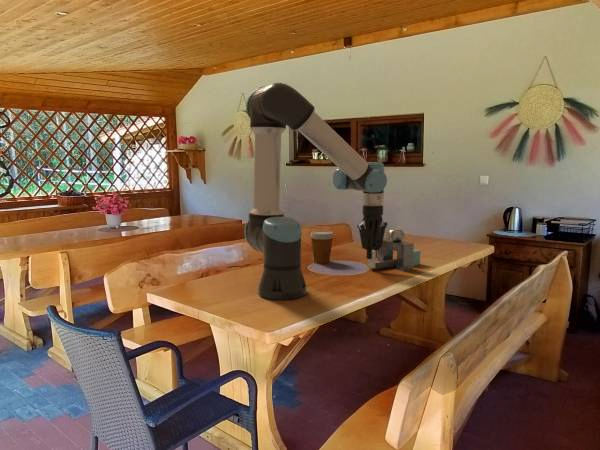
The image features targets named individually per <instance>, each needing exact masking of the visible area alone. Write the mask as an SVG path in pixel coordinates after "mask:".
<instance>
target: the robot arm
mask: <svg viewBox="0 0 600 450" xmlns="http://www.w3.org/2000/svg"><path fill="white" fill-rule="evenodd" d="M245 104H246V105H245V108H246V109H245V111H246V114H247V117H248V118H249V124H250V125H249V126H250V128H249V129H250V130H251V131H252V132H253V133H254V161H253V163H254V164H253V172H254V173H253V174H254V175H253V207H252V208H251V209H250V210H249V212H248V221H247V223H245V225H244V231H243V232H244V239H245V240H246V242H247V244H248V245H249V246H250V247H251V248H252V249H253V250H255V251H256V252H260V253H261V254H263V271H262V275H261V277H260V280H259V283H258V296H259V297H262V298H264V299H269V300H277V301H288V300H296V299H300V298H302V297H305V296H306V295H307V293H308V292H307V284H306V280H305V278H304V274H303V271H302V235H303V232H302V227H301V223H300V221H298V220H297V219H294V218H292V217H286V216H285V212H284V211H283V210H282V209H281V208H280V204H281V203H280V200H281V199H280V197H281V194H280V190H281V160H282V157H281V153H282V135H283V133H284V132H285V131H286V129H287V127H289V128H290V129H291V130H292V131H293V132H297V131H298V132H299V133H300V134H301V135H302V136H303V137H305V138H306V140H308V141H309V142H310V143H311V144H312V145H313V146H314V147H316V148H317V149H318V150H319V151H320V152H321V153H322V154H323V155H324V156H325V157H327V159H329V160H330V161H331V162H332V163H334V165H335V166H337V167H338V168H336V169H335V170H334V171H333V174H332V184H333V186H334V188H335V189H337V190H343V191H345V190H352V191H360V192H362V204H363V205H362V216H363V218H362V222H361V223H358V224H357V225H356V226H357V229H358V231H359V235H360V236H359V237H360V243H361V248H362V249H364V250H366V259H367V268H370V269H371V268H375V263H376V262H377V251H378V250H379V249H378V248H381V247H382V242H383V238H385V237H384V236H385V232H386V229H387V226H388V222H385V221H384V220H383V215H384V206H383V204H384V192H385V191H384V190H385V189H386V187H387V183H388V178H387V175H386V173H385V165H384V163H383V162H379V161H378V162H377V161H376V162H375V161H373V162H371V161H368V162H367V160H365V159H364V158H363V157H362V156H361V155H360V154H359V153H358V152H357V151H356V150H355V149H354V148H353V147H352V146H351V145H349V143H348V142H347V141H346V140H344V139H343V137H342V136H340V135H339V134H338V133H337V132H336V131H335V130H334V129H333V128H332V127H331V126H330V125H329V124H328V123H327V122H326V121H325V120H324V119H323V118H322V117H321V116H319V114H318V113H317V112H316V109H315V108H316V107H315V106H314V105H313V104H312V103H311V102H310V101H309V100H308V99H307V98H306V97H305V96H303V95H302V94H301V93H300V92H299V91H298V90H297V89H295V88H294V87H292V86H291V85H288V84H286V83H282V82H273V83H271V84H269V85H268V84H267V85H264V86H261V87H257V88H256V89H255V90H253V92H251V93H250V95H249V96H248V98H247V100H246V103H245Z"/></svg>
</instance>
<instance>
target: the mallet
mask: <svg viewBox="0 0 600 450" xmlns="http://www.w3.org/2000/svg"><path fill="white" fill-rule="evenodd" d="M419 265H421V250H419V249H414V252H413V267H414V266H419ZM394 267H396V268H397V258H395V259H394V258H393V260H387V261H381V262H377V261H376V263H375V268H370V270H372V271H379V270H382V269H383V270H384V269H389V268H394Z"/></svg>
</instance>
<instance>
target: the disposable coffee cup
mask: <svg viewBox="0 0 600 450" xmlns="http://www.w3.org/2000/svg"><path fill="white" fill-rule="evenodd" d="M309 236H310V238H311V247H312V254H313V256H312V257H313V262H314V263H316V264H328V263H330V261H331V260H330V259H331V253H332V245H333V238H334V237H335V236H334V232H333V231H330V230H329V231H328V230H312V231H311V233H310V235H309ZM327 262H328V263H327Z"/></svg>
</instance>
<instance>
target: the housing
mask: <svg viewBox="0 0 600 450" xmlns="http://www.w3.org/2000/svg"><path fill="white" fill-rule="evenodd" d="M404 238H405V231H404V230H403V229H400V228H399V229H391V230H388V231H387V232H386V237H383V242H382V247H381V248H378V249H379V250H377V258H376V262H381V261H387V260H394V252H396V259H397V266H396V270H398V271H401V272H407V271H413V270H414V266H413V252H414V248H415V246H414V245H415V243H413V242H409V241H404Z"/></svg>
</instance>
